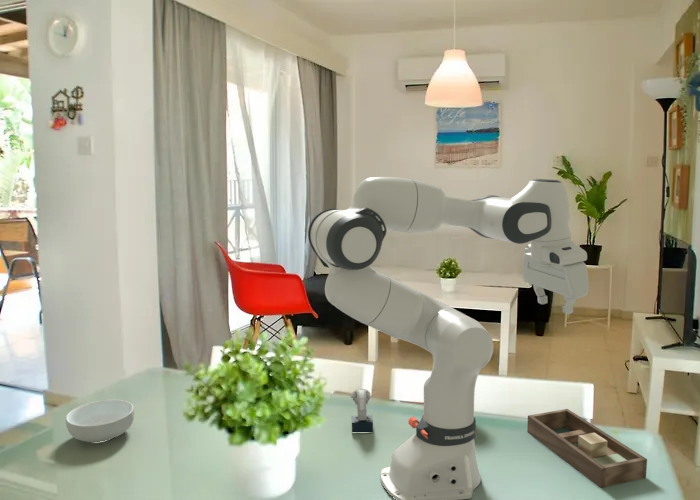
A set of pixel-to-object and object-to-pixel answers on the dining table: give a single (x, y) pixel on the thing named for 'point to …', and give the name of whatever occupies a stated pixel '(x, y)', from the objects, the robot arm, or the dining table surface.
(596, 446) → the block
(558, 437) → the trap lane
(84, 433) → the cereal bowl
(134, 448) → the dining table surface
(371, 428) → the grey joystick on base
